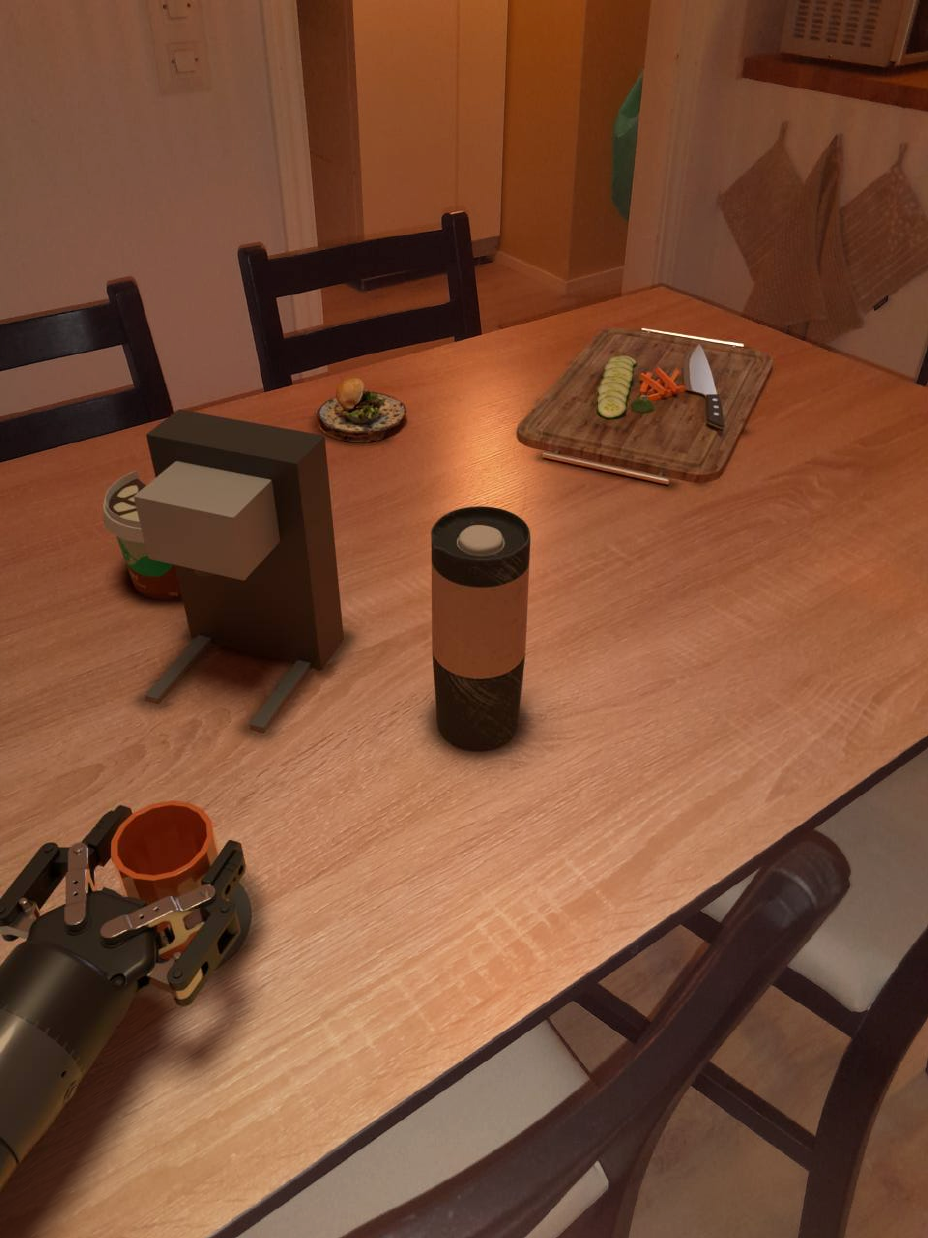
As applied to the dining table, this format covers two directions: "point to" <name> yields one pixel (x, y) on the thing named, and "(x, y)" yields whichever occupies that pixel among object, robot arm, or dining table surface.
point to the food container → (137, 541)
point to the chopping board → (649, 405)
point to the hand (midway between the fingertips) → (182, 831)
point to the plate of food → (359, 413)
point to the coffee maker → (245, 543)
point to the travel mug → (479, 624)
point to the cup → (164, 854)
